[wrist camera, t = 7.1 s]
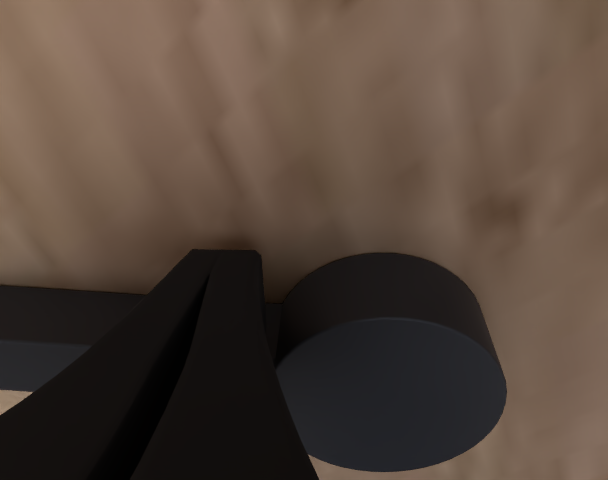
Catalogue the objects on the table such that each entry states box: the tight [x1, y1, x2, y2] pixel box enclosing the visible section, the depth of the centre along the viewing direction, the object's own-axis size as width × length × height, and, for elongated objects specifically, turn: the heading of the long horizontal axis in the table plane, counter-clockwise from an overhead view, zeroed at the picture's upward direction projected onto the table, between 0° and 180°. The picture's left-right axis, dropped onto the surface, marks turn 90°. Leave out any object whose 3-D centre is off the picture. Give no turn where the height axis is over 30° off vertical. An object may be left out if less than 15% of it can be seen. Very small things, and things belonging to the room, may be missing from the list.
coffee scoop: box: [0, 253, 507, 472], centre depth 11 cm, size 15×5×2 cm, turn 87°
